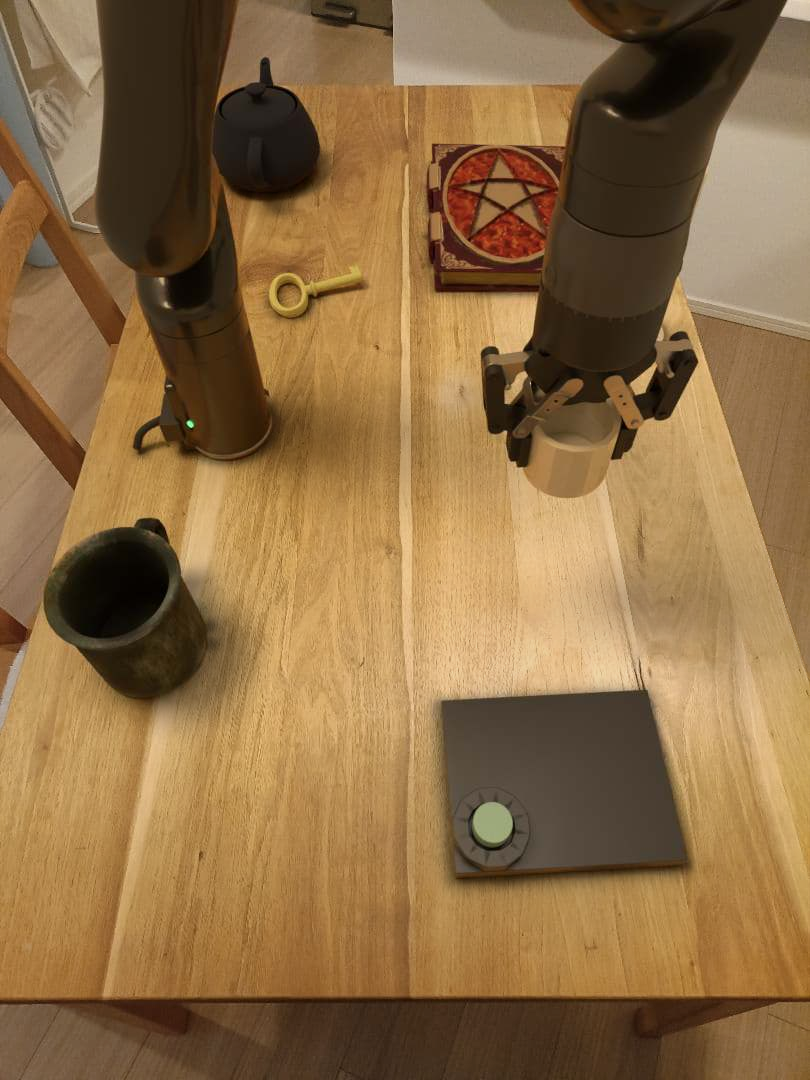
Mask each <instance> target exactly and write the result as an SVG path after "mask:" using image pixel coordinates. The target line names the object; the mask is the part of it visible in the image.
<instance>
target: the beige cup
mask: <svg viewBox="0 0 810 1080" xmlns="http://www.w3.org/2000/svg"><path fill="white" fill-rule="evenodd" d="M621 422H622V419H621V415H619V413H618V411H617V409H616V407H615V405H614V403H613V401H612V399H611V398H609V399H607V400H606V402H605V403H587V402H582V403H578V404H574V405H567V406H561V407H560V408H559V409H558V410H557V411H556V412H555V413H554V414H553V416H552V417H551V418H550V419H549V420H548V421H541V422H540V423H539V424H538V425H537V426H536V427H535V428H534V429H533V430H532V431H531V435H532V440H531V446H530V452H529V457H528V463H527V467H521V468H522V471H523V474H524V476H525V478H526V479H527V481H528V482H529V484H531V485H532V487H534V488H535V489H536V490H538V491H539V492H541V493H544V494H545V495H548V496H551V497H554V498H559V499H576V498H581V497H584V496H587V495H589V494H590V493H592V492H594V491H595V490H596V489H598V488H599V487H600V486H601V485H602V483H603V481H604V480H605V477H606V475H607V471H608V470H609V466H610V462H611V461H612V460H611V457H612V453H613V450H614V447H615V444H616V441H617V437H618V434H619V431H620V426H621Z"/></svg>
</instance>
